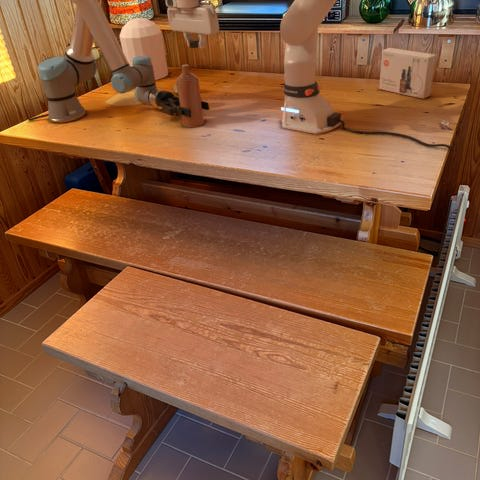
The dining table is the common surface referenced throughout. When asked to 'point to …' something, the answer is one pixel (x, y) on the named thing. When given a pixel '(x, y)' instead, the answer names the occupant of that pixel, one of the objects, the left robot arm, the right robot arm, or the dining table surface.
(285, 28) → the right robot arm
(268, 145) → the dining table surface
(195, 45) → the cap
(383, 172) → the dining table surface
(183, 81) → the bottle
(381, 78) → the skincare box
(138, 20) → the container
